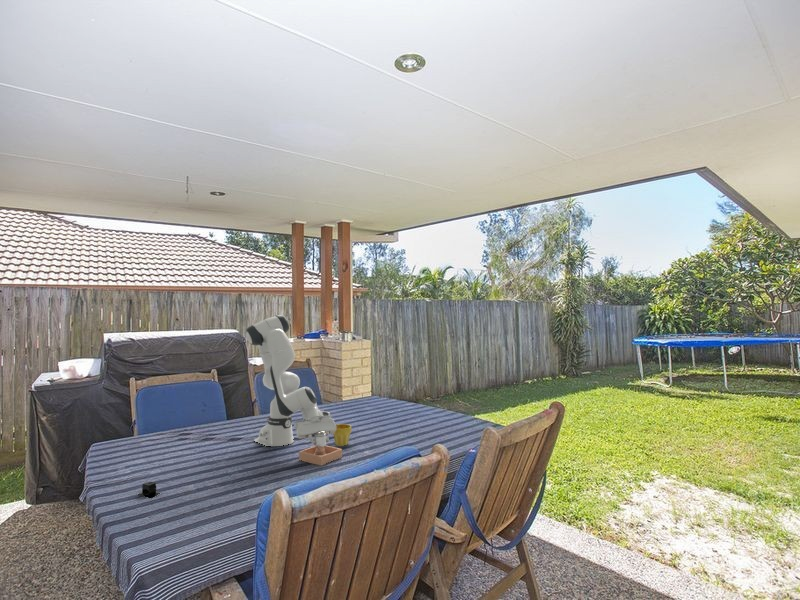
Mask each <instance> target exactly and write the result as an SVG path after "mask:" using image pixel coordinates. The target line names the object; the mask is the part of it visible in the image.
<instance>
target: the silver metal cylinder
mask: <svg viewBox="0 0 800 600" xmlns="http://www.w3.org/2000/svg"><path fill="white" fill-rule="evenodd" d="M314 435H315V436H314V439H315V440H316V443H315V444H314V446H315V447H314V446H313V447H314V454H315V455H325V454H326V446H327V442H326V435H327V434H326V433H325V432H324V431H323V432H322V431H318V433H315V434H314Z"/></svg>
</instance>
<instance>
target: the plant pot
mask: <svg viewBox="0 0 800 600" xmlns="http://www.w3.org/2000/svg"><path fill="white" fill-rule="evenodd" d="M336 427H337V428H336V431H335V432H334V433H332V434H333V439H334V443H335V446H336V445H338V446H337V447H345V446H344V445H346V446H348V445H349V441H350V435H351V433H352V425H351V424H347V423H340V424H339V423H338V424H336ZM347 444H348V445H347Z"/></svg>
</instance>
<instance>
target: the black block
mask: <svg viewBox="0 0 800 600" xmlns="http://www.w3.org/2000/svg"><path fill="white" fill-rule="evenodd" d="M141 489H142V490H141V491H140V492H138V493H139V494H138V495H137V496H139V495H141V496H140V497H143V496H145V497H144V498H146V497H148V498H147V499H150V498H151V499H154V498H155V496H156V497H158V496H159V495H158V494H160V493H161V492H160V491H157V482H152V481H148V482H145V483H142V486H141ZM159 492H160V493H159ZM157 495H158V496H157ZM153 497H154V498H153Z"/></svg>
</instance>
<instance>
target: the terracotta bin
mask: <svg viewBox="0 0 800 600" xmlns="http://www.w3.org/2000/svg"><path fill="white" fill-rule="evenodd" d="M314 447H315V445H314V446H311V447H308V448H305V449H302V450H300V451H298V460H299V461H301V460H302V461H301V462H305V463H309V464H313V465H316V466H320V465H322V466H323V465H326V463H327V464H329V463H331V461H332V462H334V461H336V459H337V460H338V458H339V459H341V458H343V449H342V448H338V447H335V446H329V445H326V454H325V455H315V454H314ZM333 460H334V461H333ZM328 462H329V463H328Z"/></svg>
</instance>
